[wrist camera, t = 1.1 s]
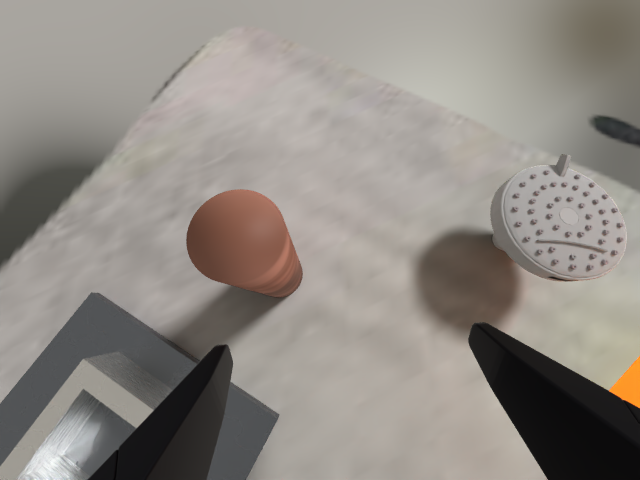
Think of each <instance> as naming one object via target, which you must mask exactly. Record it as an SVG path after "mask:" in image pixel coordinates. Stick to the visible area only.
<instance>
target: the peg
mask: <svg viewBox="0 0 640 480" xmlns="http://www.w3.org/2000/svg"><path fill="white" fill-rule="evenodd" d="M186 240H187V250H188V254H189V257H190V259H191V261H192V263H193V264H194V265H195V267H196V268H197V269H198V270H199V271H200V272H201V273H202V274H204V275H205V276H206V277H208V278H210V279H212V280H215V281H218V282H221V283H225V284H229V285H232V286H236V287H240V288H243V289H247V290H251V291H254V292H258V293H262V294H265V295H269V296H273V297H285V296H288V295H290V294H292V293H293V292H294V291H295V290H296V289H297V288H298V287H299V285H300V283H301V280H302V275H303V273H302V267H301V264H300V261H299V259H298V256H297V254H296V251H295V248H294V246H293V243H292V240H291V238H290V235H289V232H288V230H287V227H286V224H285V222H284V219H283V217H282V214H281V212H280V211H279V209H278V207H277V206H276V205H275V204H274V203H273V202H272V201H271V200H270V199H269V198H267V197H266V196H264V195H262V194H260V193H257V192H254V191H250V190H231V191H226V192H223V193H220V194H218V195H216V196H214V197H212V198H211V199H209V200H208V201H206V202H205V203H204V204H203V205H202V206H201V207H200V208H199V209H198V210H197V212H196V213H195V215H194V216H193V218H192V220H191V222H190V225H189V227H188V231H187V239H186Z"/></svg>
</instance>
